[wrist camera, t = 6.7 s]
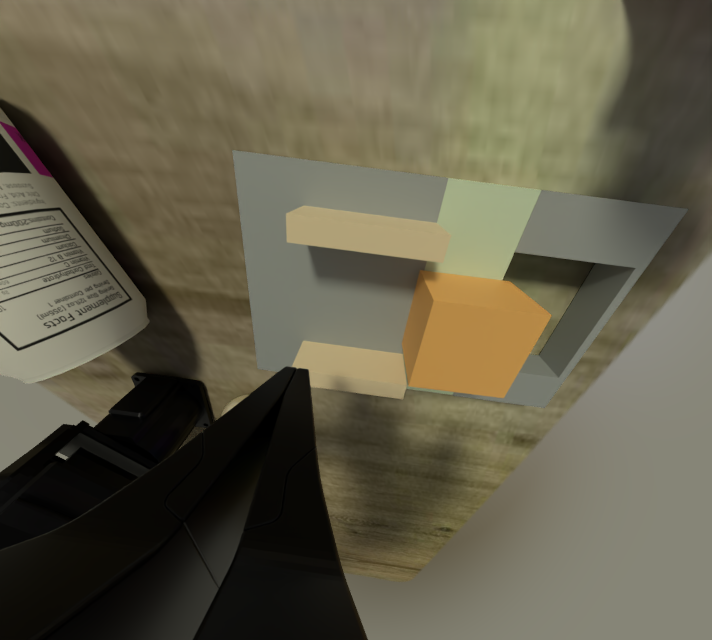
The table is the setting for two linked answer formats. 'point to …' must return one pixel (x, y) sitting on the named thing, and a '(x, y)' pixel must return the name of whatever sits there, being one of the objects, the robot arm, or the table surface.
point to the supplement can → (54, 274)
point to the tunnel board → (417, 264)
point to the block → (469, 333)
